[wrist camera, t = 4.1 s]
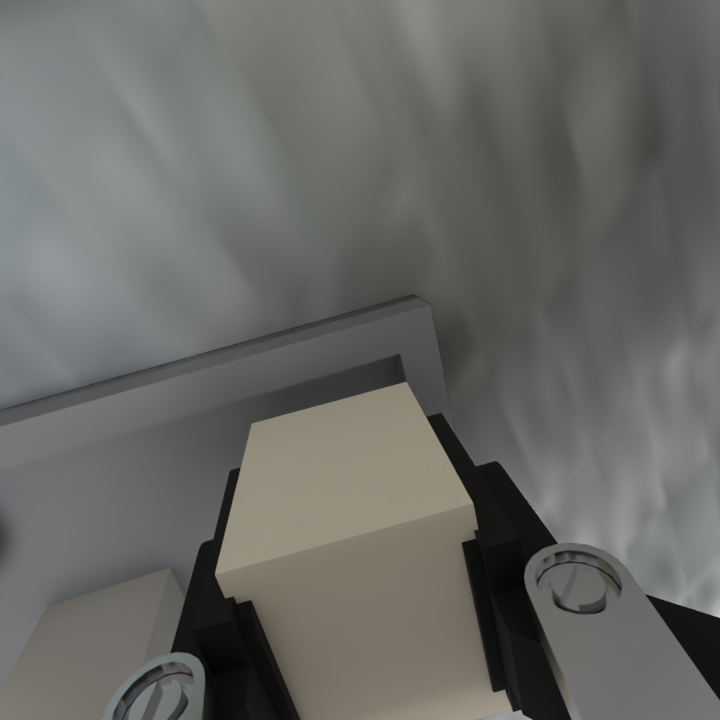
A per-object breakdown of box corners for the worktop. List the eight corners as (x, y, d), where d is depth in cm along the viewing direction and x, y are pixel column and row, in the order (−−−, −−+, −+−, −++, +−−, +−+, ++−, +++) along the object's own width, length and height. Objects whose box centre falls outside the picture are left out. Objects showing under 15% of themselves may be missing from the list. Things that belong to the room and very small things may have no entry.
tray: (413, 294, 13) (430, 305, 12) (475, 595, 17) (493, 630, 16) (-225, 473, 12) (-292, 509, 10) (-7, 759, 16) (-35, 815, 14)
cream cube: (406, 381, 11) (473, 503, 6) (439, 527, 12) (513, 709, 8) (251, 423, 11) (214, 574, 6) (302, 565, 12) (300, 770, 8)
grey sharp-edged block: (169, 567, 14) (126, 723, 10) (216, 664, 15) (195, 839, 11) (47, 606, 14) (-54, 785, 9) (104, 702, 15) (40, 897, 11)
